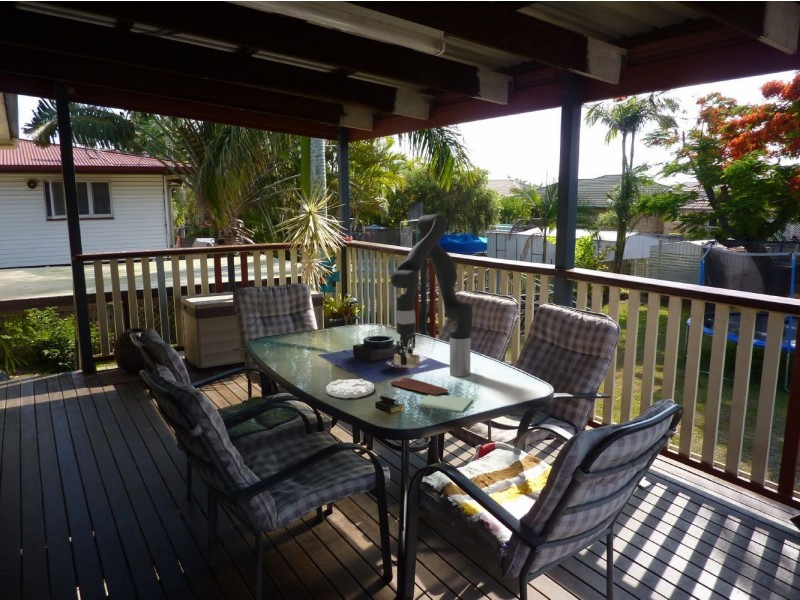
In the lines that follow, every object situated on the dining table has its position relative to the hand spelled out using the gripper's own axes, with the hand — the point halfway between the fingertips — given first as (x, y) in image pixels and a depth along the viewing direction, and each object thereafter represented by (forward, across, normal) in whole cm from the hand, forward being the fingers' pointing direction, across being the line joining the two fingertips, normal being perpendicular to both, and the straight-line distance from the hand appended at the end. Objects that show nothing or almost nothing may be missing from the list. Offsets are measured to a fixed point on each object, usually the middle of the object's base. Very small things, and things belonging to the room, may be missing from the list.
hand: (406, 362), depth 229 cm
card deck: (+1, 0, 0) cm, 1 cm away
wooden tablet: (+15, -13, 0) cm, 20 cm away
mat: (+15, 0, +16) cm, 22 cm away
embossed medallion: (+15, -1, -26) cm, 30 cm away
